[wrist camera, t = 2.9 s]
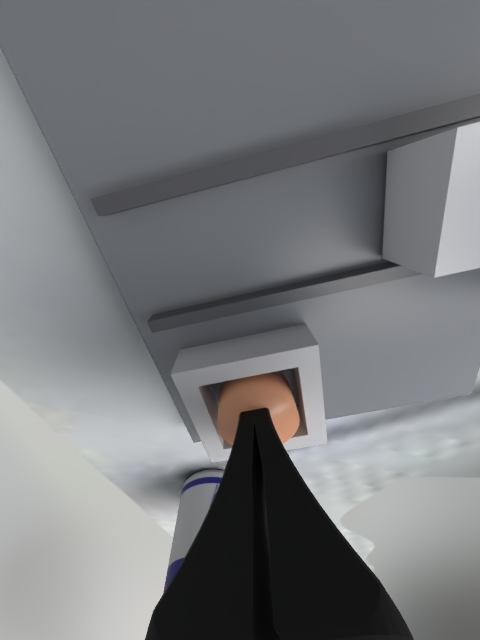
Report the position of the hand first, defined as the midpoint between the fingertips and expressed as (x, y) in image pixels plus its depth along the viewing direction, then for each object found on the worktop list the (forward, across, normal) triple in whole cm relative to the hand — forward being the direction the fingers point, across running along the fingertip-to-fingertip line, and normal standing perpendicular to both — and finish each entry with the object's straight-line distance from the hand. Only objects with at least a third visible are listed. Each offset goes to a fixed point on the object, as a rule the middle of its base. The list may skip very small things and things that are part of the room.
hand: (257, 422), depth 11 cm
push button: (+2, 0, 0) cm, 2 cm away
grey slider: (+2, -9, -8) cm, 12 cm away
